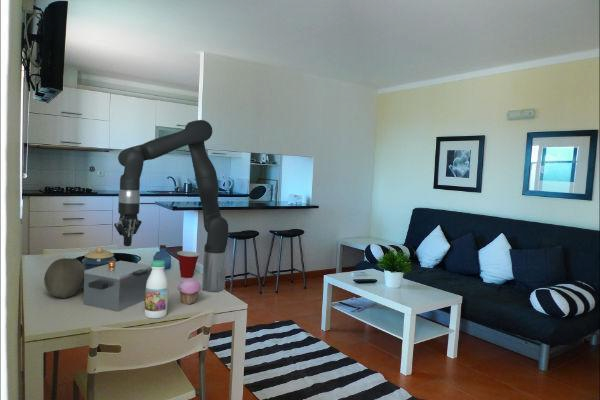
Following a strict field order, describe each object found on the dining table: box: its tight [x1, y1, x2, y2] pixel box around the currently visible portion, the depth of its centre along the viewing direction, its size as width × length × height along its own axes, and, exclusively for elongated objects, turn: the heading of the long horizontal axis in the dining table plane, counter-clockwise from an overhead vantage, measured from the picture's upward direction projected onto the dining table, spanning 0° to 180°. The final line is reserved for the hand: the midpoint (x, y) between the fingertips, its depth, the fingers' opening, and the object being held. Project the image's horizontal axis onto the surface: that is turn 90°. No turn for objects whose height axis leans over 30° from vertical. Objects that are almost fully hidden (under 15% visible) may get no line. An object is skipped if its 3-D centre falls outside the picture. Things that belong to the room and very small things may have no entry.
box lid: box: [84, 260, 152, 280], centre depth 160 cm, size 19×19×3 cm
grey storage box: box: [82, 269, 152, 312], centre depth 160 cm, size 16×22×12 cm
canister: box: [81, 246, 117, 291], centre depth 175 cm, size 13×13×18 cm
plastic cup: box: [176, 250, 201, 279], centre depth 201 cm, size 11×11×12 cm
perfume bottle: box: [152, 244, 172, 271], centre depth 213 cm, size 6×6×12 cm
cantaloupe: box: [43, 257, 86, 299], centre depth 162 cm, size 14×14×15 cm
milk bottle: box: [144, 260, 169, 320], centre depth 149 cm, size 8×8×20 cm
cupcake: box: [177, 277, 202, 305], centre depth 165 cm, size 9×9×10 cm
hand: (127, 245), depth 159 cm, fingers closed
